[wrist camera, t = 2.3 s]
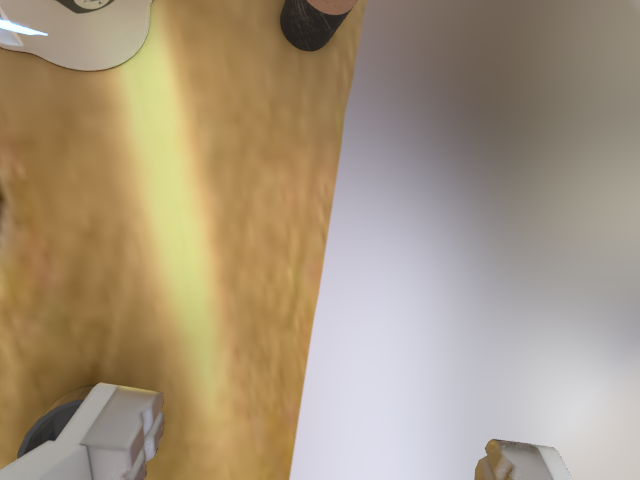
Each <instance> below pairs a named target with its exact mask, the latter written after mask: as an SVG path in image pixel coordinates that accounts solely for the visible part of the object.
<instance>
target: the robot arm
mask: <svg viewBox="0 0 640 480" xmlns="http://www.w3.org/2000/svg"><path fill="white" fill-rule="evenodd" d="M152 2H153V0H0V47H1V48H4V49H8V50H13V51H20V52H29V53H32V54H35V55H37V56H39V57H41V58H43V59H45V60H47V61H49V62H52V63H54V64H56V65H59V66H62V67H66V68H70V69H75V70H83V71H95V70H103V69H108V68H112V67H115V66H117V65H119V64H122V63H123V62H125V61H127V60H128V59H130V58H131V57H132V56H133V55H135V54H136V53H137V51H138V50H139V49H140V48H141V46H142V45H143V43H144V41H145V39H146V37H147V34H148V30H149V24H150V6H151V3H152ZM163 403H164V399H163V393H161V392H156V391H150V390H144V389H138V388H132V387H127V386H120V385H114V384H107V383H101V382H100V383H99V384H97V385H96V386H95V387H93V389H92V390H91V391H90V393H89V394H88V396H87V397H86V398H85V400H84V401H83V403H82V404H81V405H80V407H79V408H78V410H77V411H76V412H75V414H74V415H73V417H72V418H71V419H70V421H69V422H68V424H67V425H66V426H65V428H64V429H63V431H62V432H61V433H60V435H59V436H58V438H57V439H56V440H55V441H49V440H48V441H47V442H45V443H43V444H42V445H40V446H38V447H37V448H35V449H33V450H32V451H30V452H28V453H27V454H25V455H23V456H22V457H20V458H18V459H17V460H15V461H13V462H12V463H10V464H8V465H7V466H5V467H3V468H2V469H0V480H144V479H145V477H146V474H147V473H146V462H148V461H149V460H150V459H152V458H153V457H154V456H155V454H156V452H157V450H158V447H159V445H160V442H161V438H162V435H163V430H164V423H165V422H164V415H163V413H162V412H161V411H160V410H161V408H162V406H163ZM485 450H486V453H487V456H486V457H484V458H482V459H480V460H479V462H478V464H477V466H476V469H475V480H573V479H572V477H571V475H570V473H569V471H568V469H567V467H566V465H565V463H564V461H563V460H562V458H561V456H560V454H559V452H558V451H557V450H556V449H555V448H553V447H547V446H540V445H531V444H528V443H520V442H512V441H504V440H497V439H492V440H490V441H489V442H488V444H487V446H486V447H485Z"/></svg>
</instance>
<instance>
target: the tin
mask: <svg viewBox="0 0 640 480" xmlns="http://www.w3.org/2000/svg"><path fill="white" fill-rule="evenodd" d="M95 386H96V385H89V386H85V387H81V388H78V389H75V390H73V391H71V392H69V393H67V394H66V395H64V396H63V397H61V398H60V399H59V400H57V401H56V402H55V403H53V404H52V406H51V407H50V408H49V409H48V410H47V411H46V412H45V413H44V414H43V415H42V416H41V417H40V419H39V420H38V421H37V422H36V423H35V424H34V426H33V427H32V428H31V429H30V430H29V431H28V433H27V434H26V435H25V438H24V440H23V442H22V444H21V447H20V449H19V451H18V455H17V459H18V458H20V457H22V456H23V455H25V454H27V453H28V452H30V451H32V450H33V449H35V448H37V447H38V446H40V445H42V444H43V443H45V442H47V441H48V440H49V441H55V440H56V439H57V438H58V436H59V435H60V433H61V432H62V431H63V429H64V428H65V426H66V425H67V424H68V422H69V421H70V419H71V418H72V417H73V415H74V414H75V412H76V411H77V410H78V408H79V407H80V405H81V404H82V403H83V401H84V400H85V398H86V397H87V396H88V394H89V393H90V391H91V390H92V389H93V387H95Z"/></svg>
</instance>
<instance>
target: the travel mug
mask: <svg viewBox="0 0 640 480" xmlns="http://www.w3.org/2000/svg"><path fill="white" fill-rule="evenodd" d="M357 1H358V0H286V1H285V4H284V7H283V10H282V13H281V27H282V30H283V33H284V35H285V36H286V38H287V39H288V40H289V41H290V42H291V43H292V44H293V45H294V46H296V47H298V48H300V49H302V50H307V51H314V50H318V49H320V48H321V47H323V46H324V45H325V44H326V43H327V42H328V40H329V39H330V38H331V37H332V35H333V34H334V32H335V31H336V30H337V28H338V27H339V26H340V24H341V23H342V22H343V20H344V19H345V18H346V16H347V15H348V13H349V12H350V11H351V9H352V8H353V7H354V5H355V4H356V2H357Z"/></svg>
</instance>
